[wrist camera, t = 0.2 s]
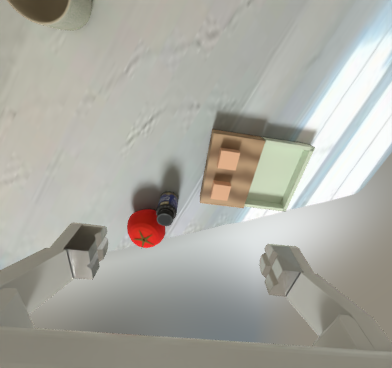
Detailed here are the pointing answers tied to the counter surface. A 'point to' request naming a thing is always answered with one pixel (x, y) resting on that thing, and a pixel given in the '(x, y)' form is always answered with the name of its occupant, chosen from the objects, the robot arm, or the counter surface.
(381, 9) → the counter surface
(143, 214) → the tomato
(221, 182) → the tile
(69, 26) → the planter
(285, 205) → the tray
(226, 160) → the tile
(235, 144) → the board
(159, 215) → the pill bottle
